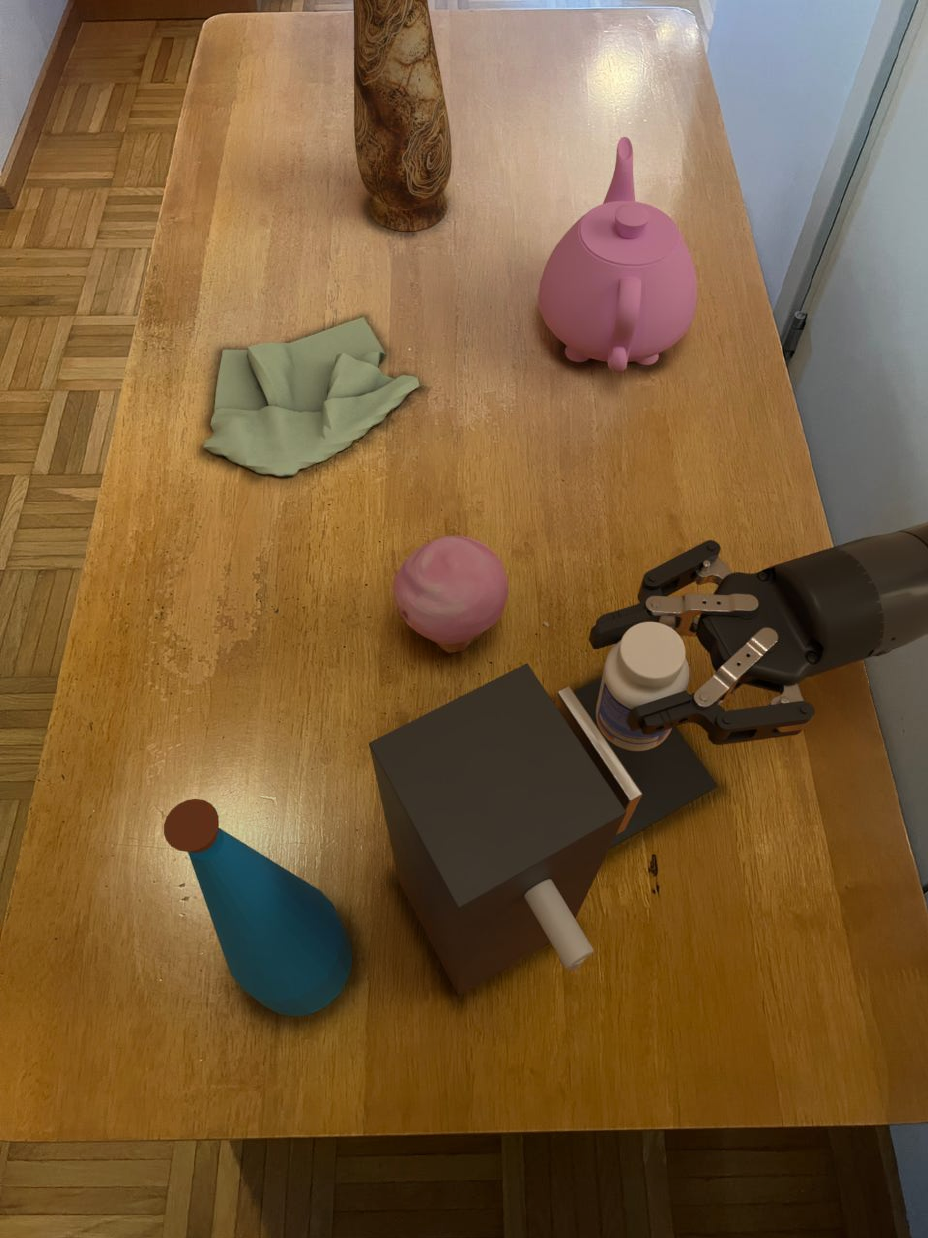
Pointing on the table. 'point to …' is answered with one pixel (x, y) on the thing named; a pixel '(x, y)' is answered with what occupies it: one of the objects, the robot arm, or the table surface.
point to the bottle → (264, 917)
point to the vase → (400, 114)
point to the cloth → (302, 399)
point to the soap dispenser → (495, 826)
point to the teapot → (619, 279)
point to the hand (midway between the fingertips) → (611, 678)
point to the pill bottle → (640, 681)
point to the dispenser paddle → (599, 752)
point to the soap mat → (655, 772)
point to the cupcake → (451, 591)
